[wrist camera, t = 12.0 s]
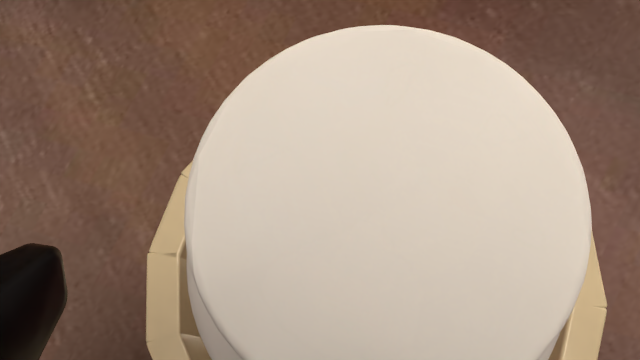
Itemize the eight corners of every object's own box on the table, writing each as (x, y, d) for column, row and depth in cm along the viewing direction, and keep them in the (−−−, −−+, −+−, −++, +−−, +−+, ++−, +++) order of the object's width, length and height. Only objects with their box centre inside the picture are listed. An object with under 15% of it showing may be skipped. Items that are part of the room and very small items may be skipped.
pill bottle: (435, 454, 16) (590, 627, 6) (223, 368, 17) (13, 378, 7) (500, 237, 18) (715, 53, 7) (303, 169, 19) (236, -82, 8)
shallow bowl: (574, 477, 17) (652, 518, 12) (196, 503, 17) (142, 551, 13) (512, 123, 20) (557, 56, 15) (192, 150, 20) (148, 92, 16)
